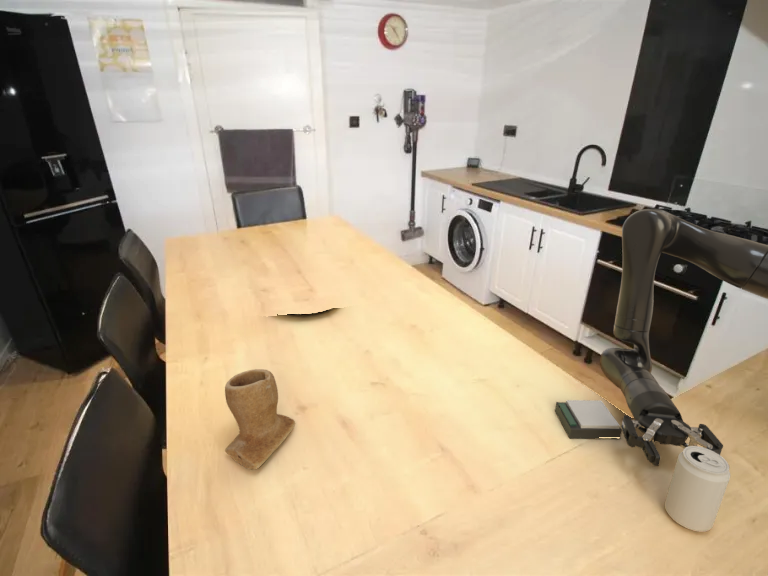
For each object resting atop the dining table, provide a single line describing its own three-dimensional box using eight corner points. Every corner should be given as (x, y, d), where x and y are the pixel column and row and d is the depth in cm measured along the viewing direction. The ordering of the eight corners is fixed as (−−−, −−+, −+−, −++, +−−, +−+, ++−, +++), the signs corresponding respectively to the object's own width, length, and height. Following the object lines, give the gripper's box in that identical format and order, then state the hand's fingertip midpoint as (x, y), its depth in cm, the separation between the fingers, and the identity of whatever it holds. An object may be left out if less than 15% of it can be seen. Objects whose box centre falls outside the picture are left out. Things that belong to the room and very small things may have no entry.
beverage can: (669, 494, 70) (685, 437, 66) (715, 517, 66) (736, 458, 62) (658, 517, 66) (675, 458, 62) (708, 543, 62) (729, 482, 57)
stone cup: (258, 414, 94) (249, 357, 88) (303, 426, 89) (295, 366, 84) (209, 460, 81) (195, 396, 75) (258, 477, 76) (247, 410, 71)
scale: (600, 411, 91) (602, 399, 90) (620, 439, 83) (622, 426, 82) (554, 411, 92) (556, 399, 91) (569, 438, 83) (571, 426, 82)
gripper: (614, 386, 82) (642, 441, 67) (695, 394, 79) (744, 454, 64) (608, 417, 84) (634, 477, 70) (686, 425, 81) (731, 490, 67)
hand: (686, 466), depth 67 cm, fingers open, 8 cm apart
